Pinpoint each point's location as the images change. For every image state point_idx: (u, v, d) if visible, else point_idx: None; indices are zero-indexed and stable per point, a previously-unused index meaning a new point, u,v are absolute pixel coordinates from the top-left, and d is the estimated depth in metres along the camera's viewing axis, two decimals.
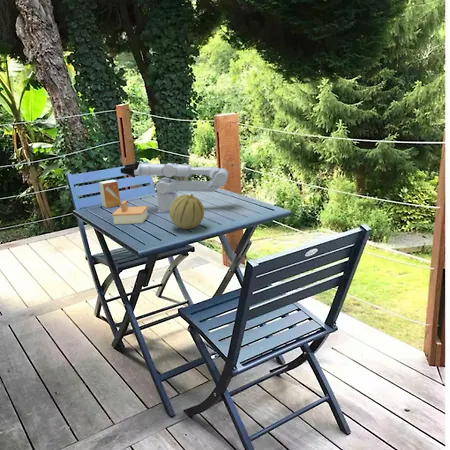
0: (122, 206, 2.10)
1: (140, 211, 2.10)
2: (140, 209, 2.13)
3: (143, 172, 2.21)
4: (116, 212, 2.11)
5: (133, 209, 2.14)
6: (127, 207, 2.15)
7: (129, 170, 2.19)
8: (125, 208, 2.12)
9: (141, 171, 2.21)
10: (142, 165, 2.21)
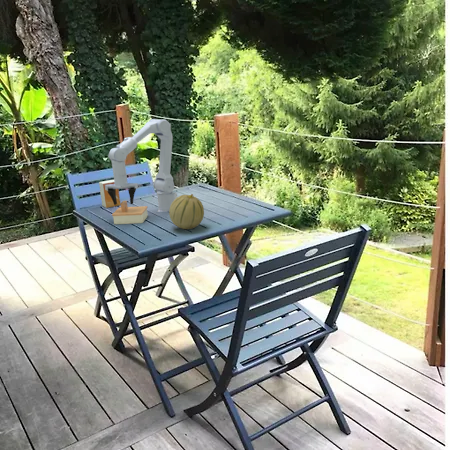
0: (122, 206, 2.10)
1: (140, 211, 2.10)
2: (140, 209, 2.13)
3: None
4: (116, 212, 2.11)
5: (133, 209, 2.14)
6: (127, 207, 2.15)
7: None
8: (125, 208, 2.12)
9: None
10: (123, 183, 2.07)
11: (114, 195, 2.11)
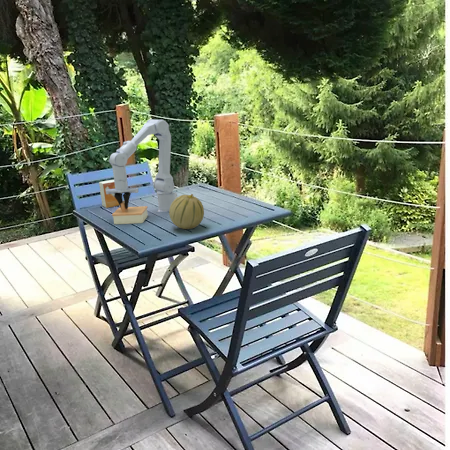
0: (122, 206, 2.10)
1: (140, 211, 2.10)
2: (140, 209, 2.13)
3: (127, 185, 2.10)
4: (116, 212, 2.11)
5: (133, 209, 2.14)
6: None
7: None
8: None
9: (127, 187, 2.10)
10: (123, 188, 2.08)
11: (121, 199, 2.11)
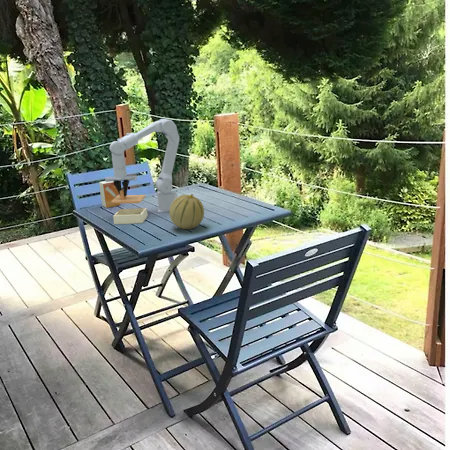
0: (121, 194, 2.16)
1: (139, 199, 2.16)
2: (138, 197, 2.19)
3: (126, 173, 2.16)
4: (115, 199, 2.17)
5: (132, 197, 2.20)
6: None
7: None
8: (124, 196, 2.18)
9: (126, 175, 2.16)
10: (122, 175, 2.14)
11: (120, 187, 2.17)
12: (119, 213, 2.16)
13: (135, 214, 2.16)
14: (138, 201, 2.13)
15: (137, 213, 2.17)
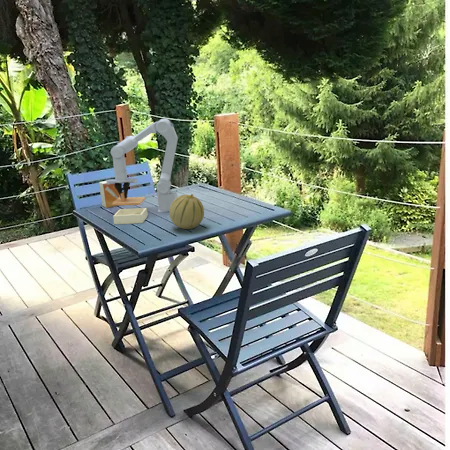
0: (122, 196, 2.24)
1: (139, 201, 2.24)
2: (139, 199, 2.27)
3: None
4: (116, 201, 2.24)
5: (132, 199, 2.28)
6: None
7: None
8: (124, 198, 2.26)
9: (127, 178, 2.24)
10: (123, 178, 2.21)
11: (120, 189, 2.25)
12: (119, 213, 2.16)
13: (135, 214, 2.16)
14: (138, 203, 2.21)
15: (137, 213, 2.17)
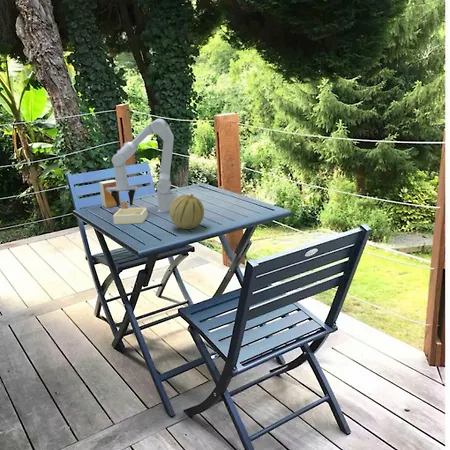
0: (123, 207, 2.26)
1: None
2: None
3: None
4: None
5: None
6: (127, 208, 2.31)
7: None
8: None
9: None
10: (124, 186, 2.22)
11: (117, 197, 2.26)
12: (119, 213, 2.16)
13: (135, 214, 2.16)
14: None
15: (137, 213, 2.17)
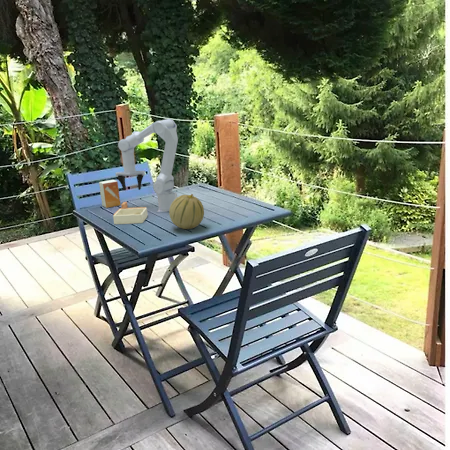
0: (123, 207, 2.25)
1: None
2: None
3: None
4: None
5: None
6: (127, 208, 2.31)
7: None
8: None
9: (135, 170, 2.32)
10: (131, 170, 2.29)
11: (123, 181, 2.34)
12: (119, 213, 2.16)
13: (135, 214, 2.16)
14: None
15: (137, 213, 2.17)
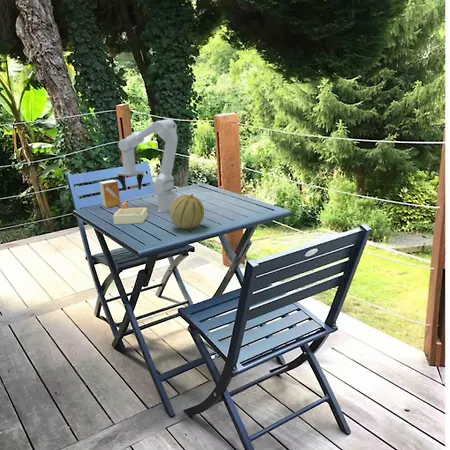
0: (123, 207, 2.25)
1: None
2: None
3: (135, 168, 2.32)
4: None
5: None
6: (127, 208, 2.31)
7: None
8: None
9: (135, 170, 2.32)
10: (131, 170, 2.30)
11: (124, 181, 2.34)
12: (119, 213, 2.16)
13: (135, 214, 2.16)
14: None
15: (137, 213, 2.17)
